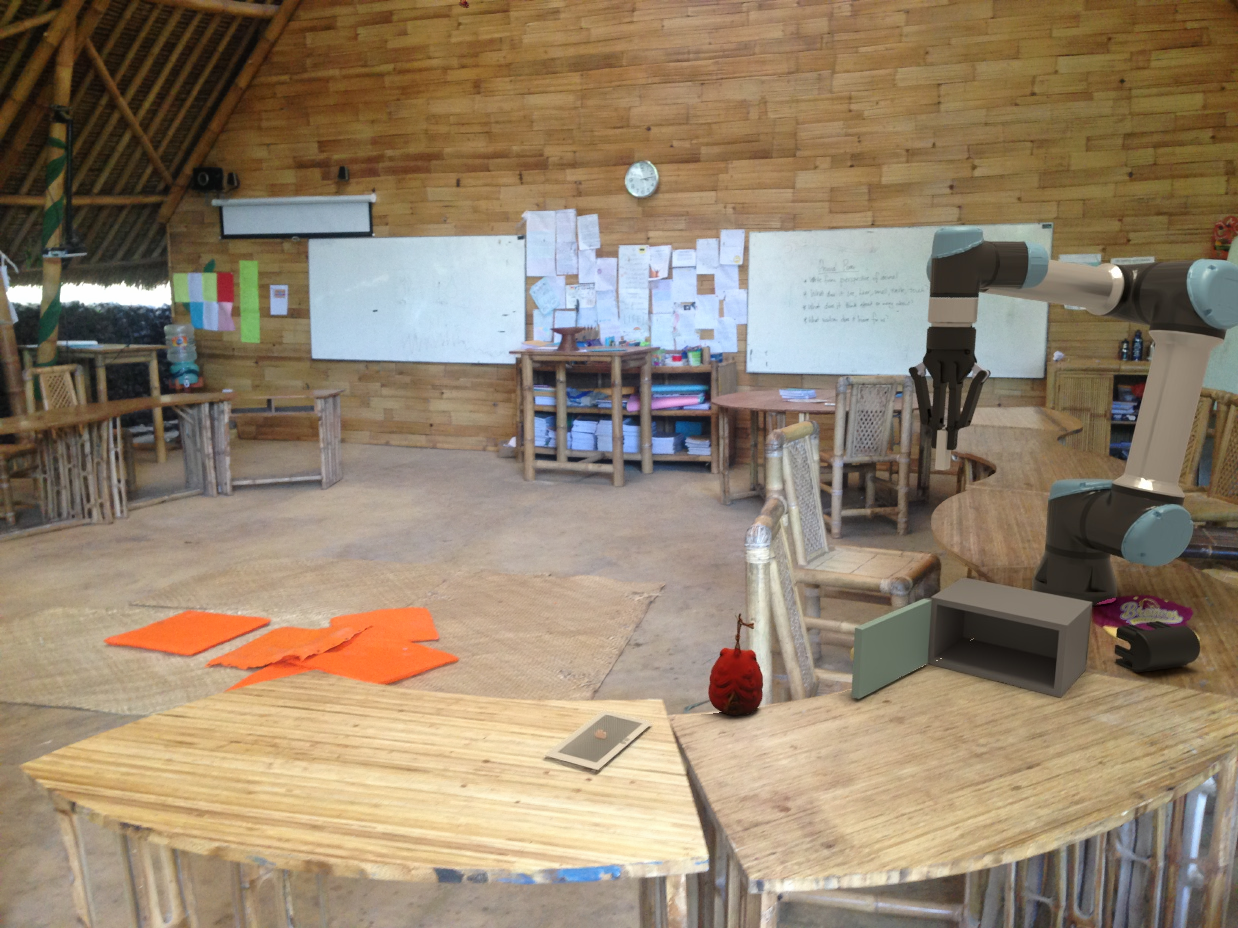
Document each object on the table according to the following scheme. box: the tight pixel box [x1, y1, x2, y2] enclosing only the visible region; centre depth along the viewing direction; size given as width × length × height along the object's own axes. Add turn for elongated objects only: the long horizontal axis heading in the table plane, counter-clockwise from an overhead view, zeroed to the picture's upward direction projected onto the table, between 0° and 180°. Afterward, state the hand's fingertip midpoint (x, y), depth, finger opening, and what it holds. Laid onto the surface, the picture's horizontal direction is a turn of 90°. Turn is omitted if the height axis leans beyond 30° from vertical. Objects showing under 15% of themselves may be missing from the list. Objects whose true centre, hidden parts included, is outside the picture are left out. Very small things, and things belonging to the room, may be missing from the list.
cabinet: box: [926, 577, 1093, 699], centre depth 146 cm, size 14×20×11 cm
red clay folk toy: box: [707, 612, 764, 716], centre depth 130 cm, size 8×7×15 cm
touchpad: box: [543, 709, 654, 771], centre depth 121 cm, size 8×15×2 cm, turn 151°
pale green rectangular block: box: [849, 597, 932, 700], centre depth 140 cm, size 3×20×10 cm, turn 133°
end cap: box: [1114, 620, 1201, 673], centre depth 146 cm, size 10×7×7 cm
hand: (942, 468), depth 155 cm, fingers closed
